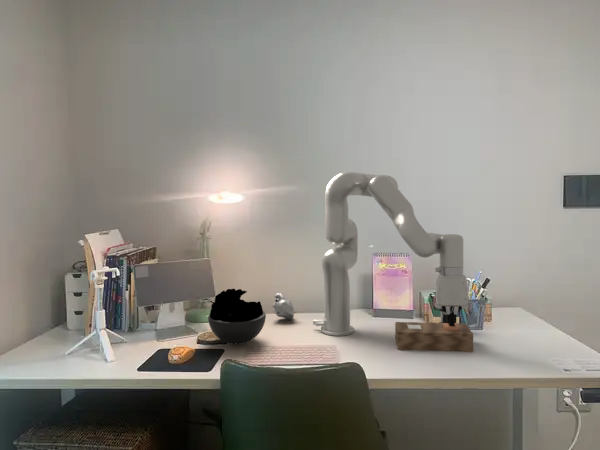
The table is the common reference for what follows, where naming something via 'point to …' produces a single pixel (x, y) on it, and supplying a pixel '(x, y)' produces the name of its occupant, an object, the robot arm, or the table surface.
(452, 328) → the orange block
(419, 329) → the grey plunger
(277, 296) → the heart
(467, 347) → the button box
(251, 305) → the coal bowl
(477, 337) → the table surface
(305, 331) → the table surface
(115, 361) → the table surface
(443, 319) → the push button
